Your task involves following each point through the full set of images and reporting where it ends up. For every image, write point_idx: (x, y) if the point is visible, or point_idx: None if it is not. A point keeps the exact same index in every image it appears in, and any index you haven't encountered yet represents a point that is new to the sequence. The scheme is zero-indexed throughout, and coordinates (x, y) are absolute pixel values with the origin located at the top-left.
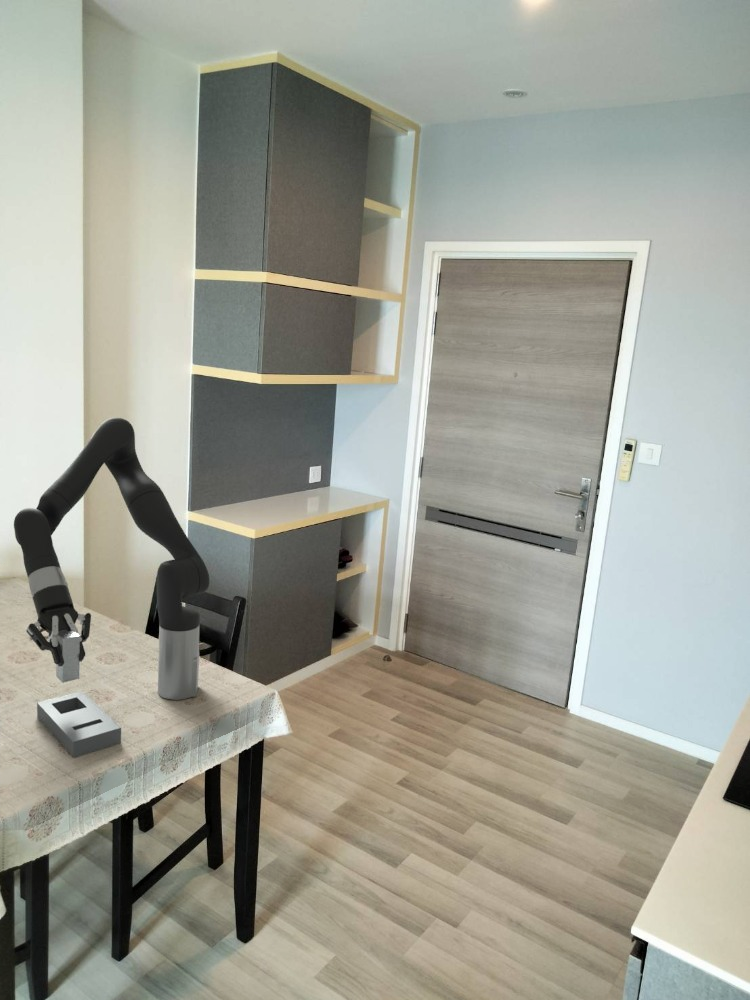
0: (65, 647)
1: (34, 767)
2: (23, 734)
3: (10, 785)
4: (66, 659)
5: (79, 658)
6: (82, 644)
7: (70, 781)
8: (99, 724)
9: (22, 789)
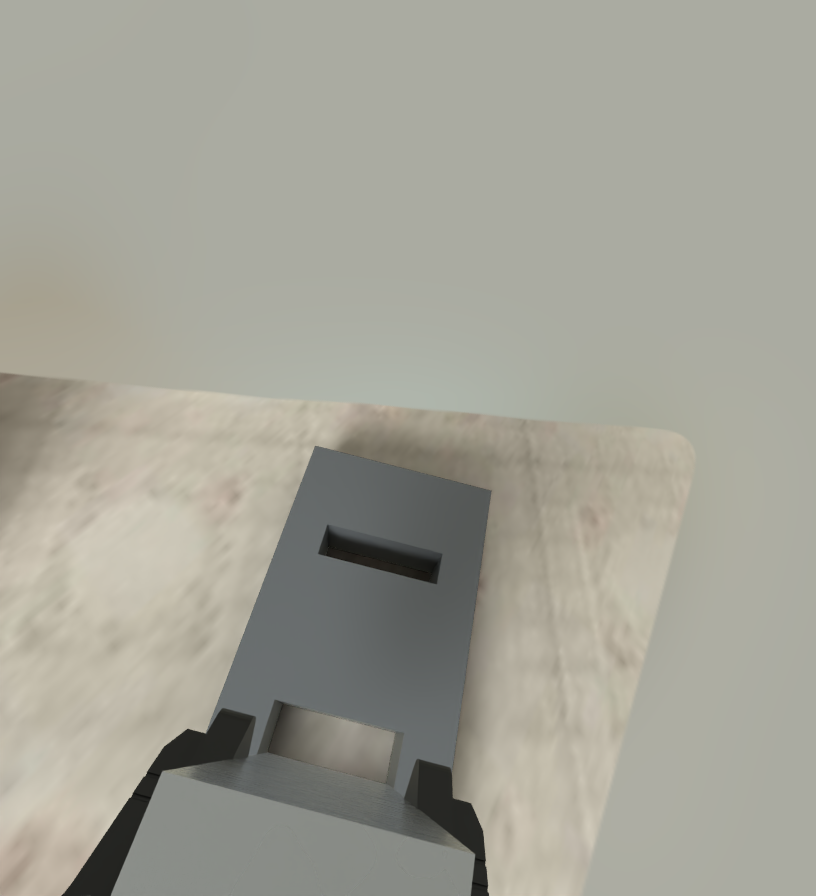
0: (399, 817)
1: (589, 558)
2: (532, 825)
3: (673, 527)
4: (373, 793)
5: (246, 749)
6: (83, 870)
7: (539, 429)
8: (351, 518)
9: (651, 488)
